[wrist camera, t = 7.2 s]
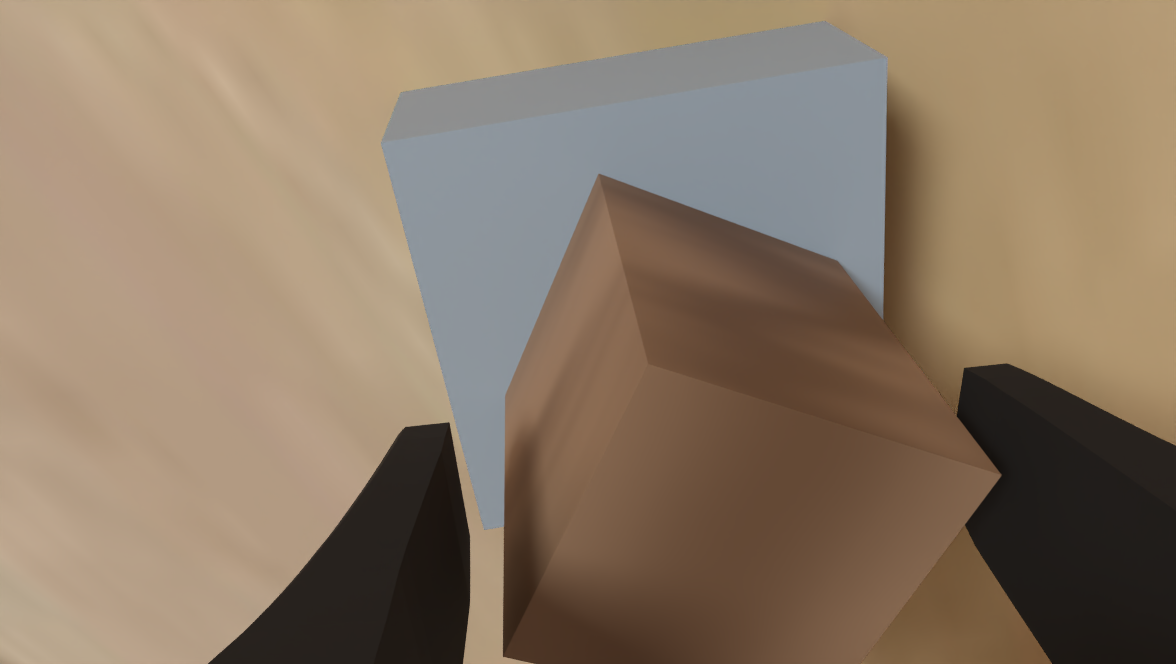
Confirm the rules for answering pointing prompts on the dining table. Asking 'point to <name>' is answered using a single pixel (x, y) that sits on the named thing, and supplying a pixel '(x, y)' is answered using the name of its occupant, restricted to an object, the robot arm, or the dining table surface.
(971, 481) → the walnut block
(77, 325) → the dining table surface
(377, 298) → the dining table surface
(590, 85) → the base block
